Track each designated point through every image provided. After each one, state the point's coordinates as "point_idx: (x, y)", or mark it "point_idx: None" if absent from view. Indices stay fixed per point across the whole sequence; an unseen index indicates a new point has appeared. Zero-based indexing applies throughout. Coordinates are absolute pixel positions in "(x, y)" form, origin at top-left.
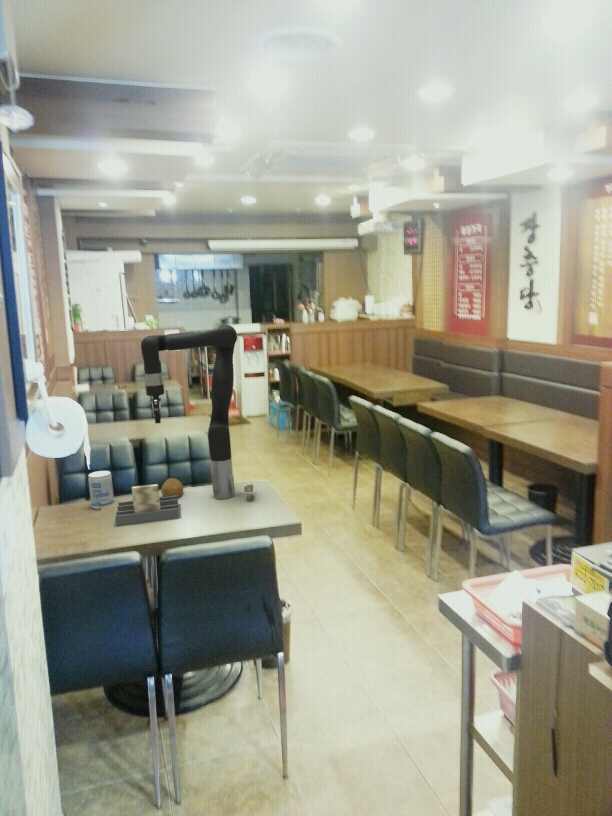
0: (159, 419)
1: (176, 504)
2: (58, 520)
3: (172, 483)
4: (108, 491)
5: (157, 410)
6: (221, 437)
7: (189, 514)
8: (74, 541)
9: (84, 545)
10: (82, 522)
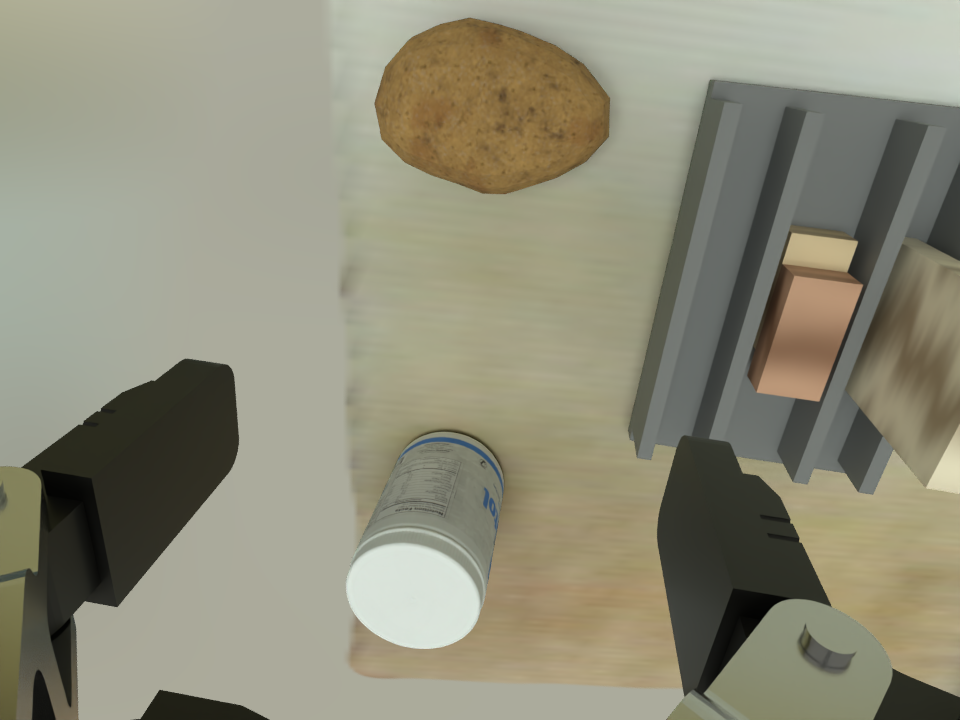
0: (743, 509)
1: (929, 134)
2: (555, 633)
3: (527, 114)
4: (481, 501)
5: (83, 551)
6: None
7: (886, 37)
8: (859, 605)
9: (941, 579)
10: (637, 563)
